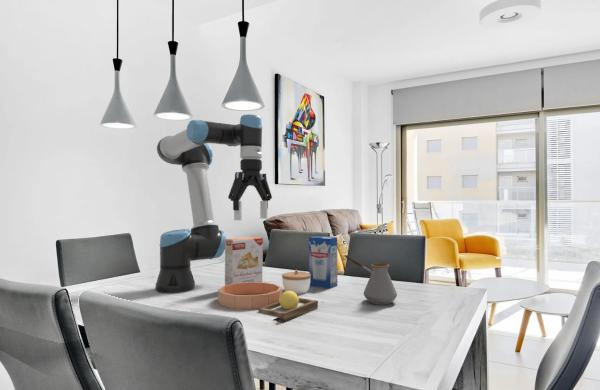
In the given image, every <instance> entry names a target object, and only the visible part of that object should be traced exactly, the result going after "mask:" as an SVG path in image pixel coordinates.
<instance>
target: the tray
mask: <svg viewBox="0 0 600 390" xmlns="http://www.w3.org/2000/svg"><path fill="white" fill-rule="evenodd" d="M298 299H299V302H298V303H304V304H301V305H299V306H297V307H296V308H293V309H290V310H285V311H279V310H275V309H276V308H278V307H282V306H281V305H280V301H279V302H276V303H273V304H270V305H267V306H264V307H261V308H257V309H258V311H257V312H258V313H262V314H267V315H271V316H276V318H273V320H272V321H277V322H281V323H286V322H289V321H291V320H293V319H296V318H298V317H301V316H303V315H306V314H308V313H311V312H312V311H315V310H317V309H318V308H319V301H318V300H316V299H309V298H303V297H298ZM318 310H319V309H318Z"/></svg>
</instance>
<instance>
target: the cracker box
mask: <svg viewBox="0 0 600 390" xmlns="http://www.w3.org/2000/svg"><path fill="white" fill-rule="evenodd" d="M263 245H264V238H262V237H257V236H251V237H250V236H249V237H235V238H226V239H225V250H224V286H225V285H230V284H234V283H244V282H263V272H264V271H263V268H264V267H263V265H264V264H263V262H264V261H263V258H264V256H263V255H264V253H263V252H264V251H263V250H264V246H263Z"/></svg>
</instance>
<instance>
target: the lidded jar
mask: <svg viewBox="0 0 600 390" xmlns="http://www.w3.org/2000/svg"><path fill="white" fill-rule="evenodd" d="M310 277H311V274H309V272H305V271H299V270H298V269H295V270H294V271H288V272H284V273H282V275H281V278H282V279H281V280H282V287H283V290H284V292H286V291H293V292H295V293H296V294H297V295H298V294H299V295H300V294H307V292H308V291H309V289H310V287H311V286H310Z"/></svg>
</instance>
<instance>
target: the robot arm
mask: <svg viewBox="0 0 600 390" xmlns="http://www.w3.org/2000/svg"><path fill="white" fill-rule="evenodd" d="M239 119H240V120H239V123H238V124H231V123H223V122H216V121H215V122H214V121H207V120H202V119H198V120H197V119H191V120H190V121H189V122H188V124H187V126H186V129H184V130H181V131H180V132H178V133H176V134H174V135H167V136H165V137H162V138H160V140H159V141H158V143H157V146H156V152H157V155H158V157H159V158H160V159H161V160H162V161H164V162H165V163H166V164H170V165H178V166H181V168H182V169H181V170H182V172H183V173H185V174H186V178H187V179H186V181H187V186H188V194H189V200H190V202H189V203H190V208H191V216H192V222H193V223H192V224H193V226H192V227H191V228H190V229H189V228H181V229H173V230H169V231H165V232H163V233H162V234H161V235H160V240H159V273H158V276H157V279H156V283H155V285H154V287H155V291H156V292H158V293H163V294H164V293H166V294H171V293H173V294H174V293H176V294H177V293H184V292H188V291H189V292H190V291H192V290H194V289H195V288H196V281H195V279H194V275H193V272H192V270H191V262H193V261H194V262H195V261H203V260H213V259H217V258H220V257H221V256H222V255H223V254H225V239H227V237H226V234H225V232H224V231H223V230H220V228H219V225H218V224H217V223H216V222H215V219H214V214H213V207H212V200H211V193H210V187H209V186H210V185H209V181H208V173H207V171H208V170H209V168H210V166H211V164H212V162H213V157H214V156H213V150H212V147H211V145H210V144H218V145H224V146H225V145H226V146H227V147H240V149H239V151H240V152H239V155H240V159H241V160H240V162H239V163H240V165H239V166H240V167H239V168H240V170H241V171H235V173H234V180H233V183H232V184H231V188H230V190H229V194H228V196H227V197H228V200H230V201H231V202H232V210H233V217H234V218H233V220H234V221H242V217H243V216H242V201H241V198H242V197H243V194H245V192H246V190H247V188H248V187H249V186H252V187H254V188H255V190H256V191H257V194H258V195H259V197H260V198H261V199H260V201H259V203H260V204H259V205H260V207H259V208H260V209H259V210H260V211H259V212H260V213H259V215H260V217H259V219H265V220H267V219H268V210H269V201H271V199H273V196H272V193H271V190H270V186H269V182H268V180H267V173H261V171H262V170H263V165H262V164H263V161H262V159H263V158H262V157H263V156H262V153H263V152H262V148H263V147H262V145H263V125H262V117H261V116H260V115H257V114H251V113H249V114H243V115H241V116H240V118H239Z"/></svg>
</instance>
